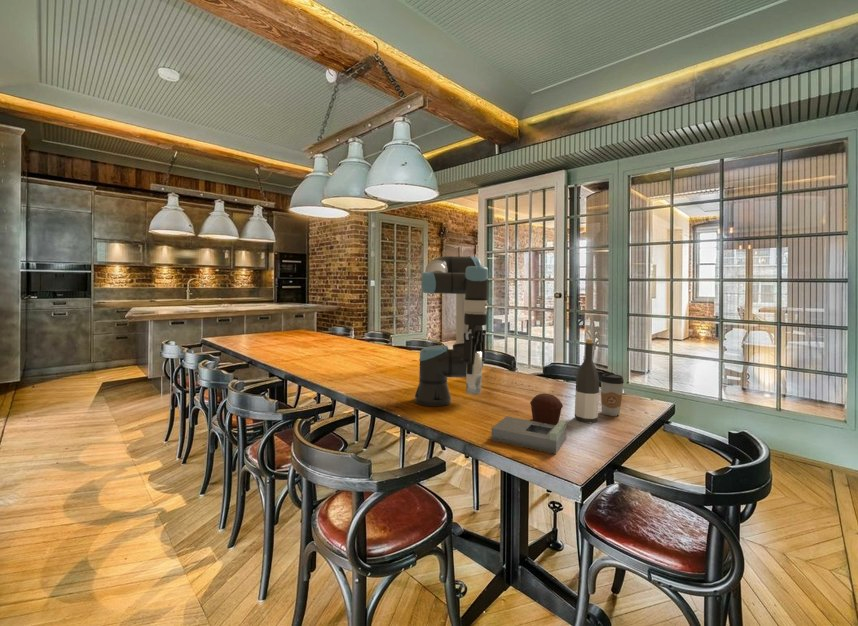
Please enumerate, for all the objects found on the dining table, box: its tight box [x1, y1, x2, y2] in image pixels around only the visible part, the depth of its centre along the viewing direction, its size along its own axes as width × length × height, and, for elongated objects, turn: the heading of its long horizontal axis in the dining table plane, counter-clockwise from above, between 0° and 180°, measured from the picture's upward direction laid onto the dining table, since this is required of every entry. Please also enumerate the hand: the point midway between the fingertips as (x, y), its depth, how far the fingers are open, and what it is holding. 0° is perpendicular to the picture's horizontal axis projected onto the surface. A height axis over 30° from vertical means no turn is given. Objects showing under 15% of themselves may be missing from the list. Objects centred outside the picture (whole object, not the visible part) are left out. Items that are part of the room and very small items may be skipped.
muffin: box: [529, 392, 564, 425], centre depth 148 cm, size 12×11×10 cm
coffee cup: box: [599, 373, 625, 417], centre depth 160 cm, size 8×8×15 cm
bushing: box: [465, 351, 483, 396], centre depth 138 cm, size 5×5×14 cm
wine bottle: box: [574, 338, 600, 424], centre depth 151 cm, size 8×8×30 cm
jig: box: [490, 416, 568, 455], centre depth 130 cm, size 20×14×6 cm
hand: (473, 381), depth 138 cm, fingers closed on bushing, 5 cm apart
